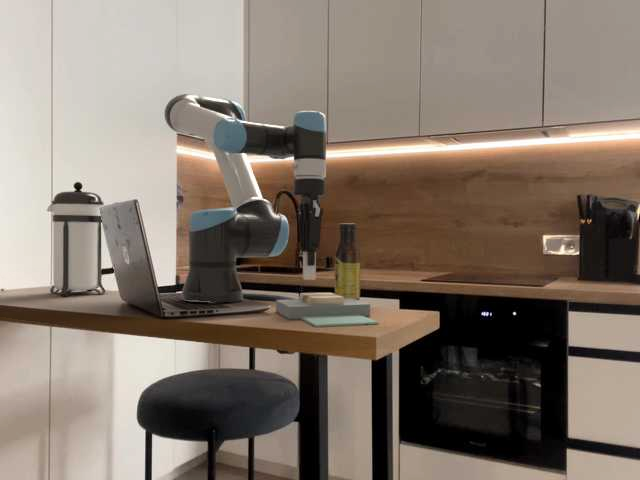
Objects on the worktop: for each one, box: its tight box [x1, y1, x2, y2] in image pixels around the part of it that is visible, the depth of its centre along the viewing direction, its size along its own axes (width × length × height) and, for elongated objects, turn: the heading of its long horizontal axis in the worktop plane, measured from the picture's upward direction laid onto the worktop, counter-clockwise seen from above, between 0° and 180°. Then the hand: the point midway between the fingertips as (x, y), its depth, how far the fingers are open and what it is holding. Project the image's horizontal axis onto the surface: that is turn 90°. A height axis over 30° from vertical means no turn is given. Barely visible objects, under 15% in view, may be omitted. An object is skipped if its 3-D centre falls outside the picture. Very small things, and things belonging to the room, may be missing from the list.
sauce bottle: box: [334, 222, 361, 301], centre depth 144 cm, size 6×6×20 cm
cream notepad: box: [299, 291, 344, 305], centre depth 128 cm, size 9×7×2 cm
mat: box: [301, 314, 379, 328], centre depth 118 cm, size 10×13×1 cm
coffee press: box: [46, 181, 115, 298], centre depth 158 cm, size 17×16×30 cm
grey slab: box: [275, 298, 371, 320], centre depth 128 cm, size 11×18×2 cm, turn 108°
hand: (309, 279), depth 137 cm, fingers closed
